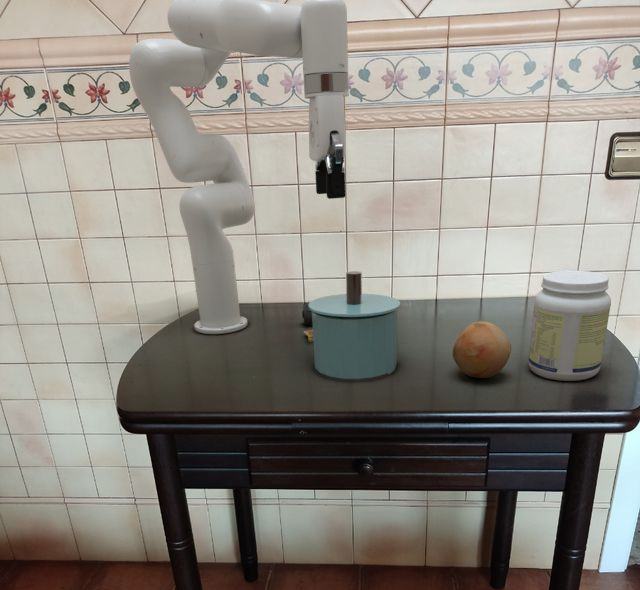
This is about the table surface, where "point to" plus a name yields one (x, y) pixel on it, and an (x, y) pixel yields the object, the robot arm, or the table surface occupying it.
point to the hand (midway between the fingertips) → (330, 195)
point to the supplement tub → (569, 325)
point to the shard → (309, 335)
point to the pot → (355, 345)
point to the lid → (354, 301)
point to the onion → (481, 350)
